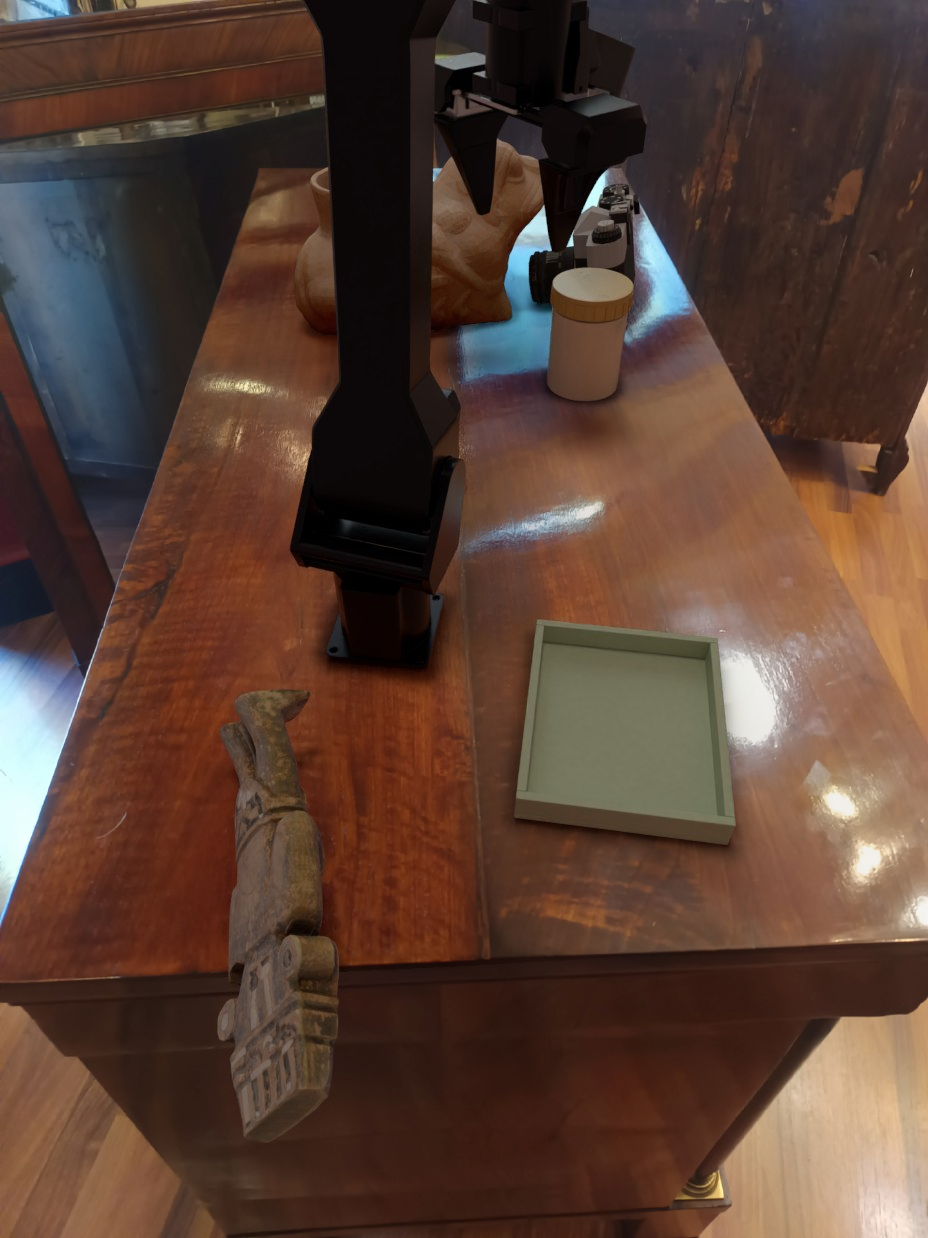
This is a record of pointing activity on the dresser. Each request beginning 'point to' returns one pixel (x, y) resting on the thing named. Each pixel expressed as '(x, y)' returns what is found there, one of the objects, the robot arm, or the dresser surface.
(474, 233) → the ceramic vessel
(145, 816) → the dresser surface
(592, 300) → the lid
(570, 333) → the jar
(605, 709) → the tray
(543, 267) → the camera
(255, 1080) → the figurine
